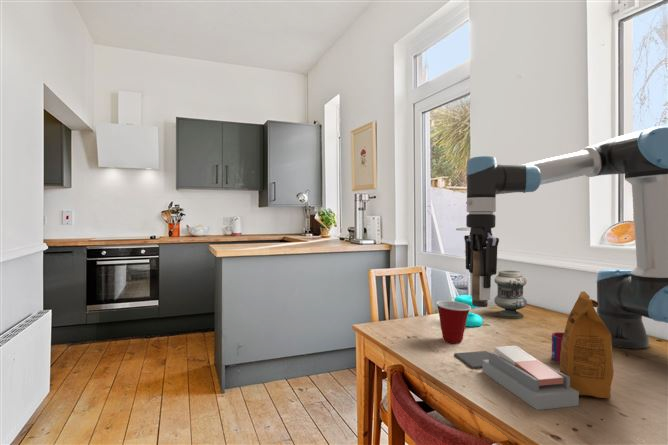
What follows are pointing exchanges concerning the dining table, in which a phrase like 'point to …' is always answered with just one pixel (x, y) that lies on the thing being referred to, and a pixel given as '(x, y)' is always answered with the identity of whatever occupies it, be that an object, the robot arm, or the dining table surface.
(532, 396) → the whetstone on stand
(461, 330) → the plastic cup
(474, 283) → the wooden pestle
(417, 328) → the dining table surface
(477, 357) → the mat
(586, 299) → the coffee package
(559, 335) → the cup
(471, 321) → the donuts
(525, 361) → the rocker
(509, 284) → the apothecary jar
